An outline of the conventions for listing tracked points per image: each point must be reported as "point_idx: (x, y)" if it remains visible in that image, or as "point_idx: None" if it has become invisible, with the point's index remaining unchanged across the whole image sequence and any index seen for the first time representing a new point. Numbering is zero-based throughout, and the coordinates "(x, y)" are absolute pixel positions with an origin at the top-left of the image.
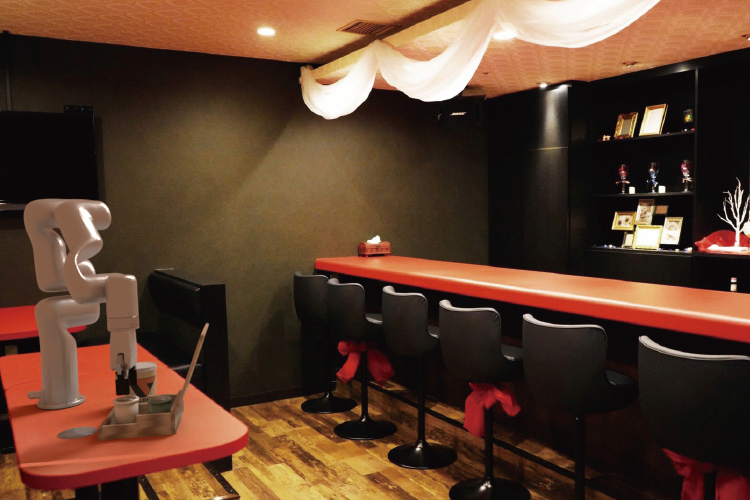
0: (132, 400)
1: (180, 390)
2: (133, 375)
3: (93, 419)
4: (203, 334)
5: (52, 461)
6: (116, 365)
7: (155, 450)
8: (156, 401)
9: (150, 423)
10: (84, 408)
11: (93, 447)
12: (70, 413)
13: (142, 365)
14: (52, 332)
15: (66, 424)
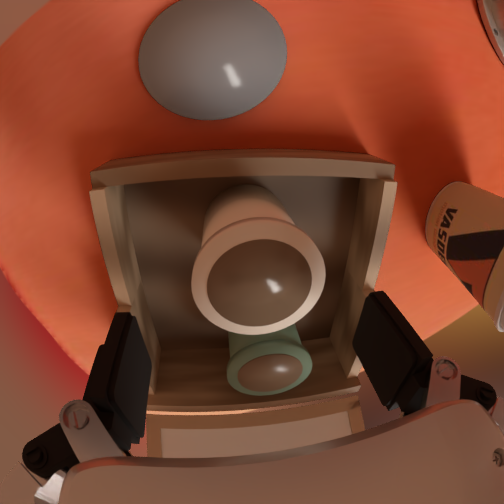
0: (224, 319)
1: (351, 389)
2: (377, 377)
3: (394, 83)
4: None
5: (7, 93)
6: (2, 498)
7: (73, 321)
8: (238, 372)
9: None
10: (480, 68)
11: (81, 158)
12: (453, 29)
13: None
14: None
15: (361, 5)
